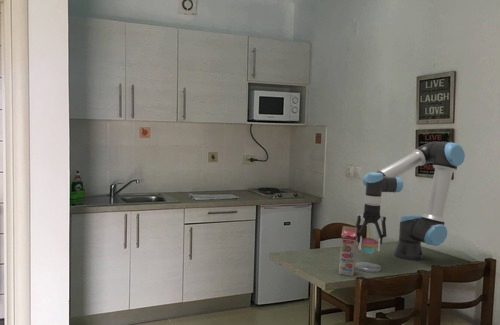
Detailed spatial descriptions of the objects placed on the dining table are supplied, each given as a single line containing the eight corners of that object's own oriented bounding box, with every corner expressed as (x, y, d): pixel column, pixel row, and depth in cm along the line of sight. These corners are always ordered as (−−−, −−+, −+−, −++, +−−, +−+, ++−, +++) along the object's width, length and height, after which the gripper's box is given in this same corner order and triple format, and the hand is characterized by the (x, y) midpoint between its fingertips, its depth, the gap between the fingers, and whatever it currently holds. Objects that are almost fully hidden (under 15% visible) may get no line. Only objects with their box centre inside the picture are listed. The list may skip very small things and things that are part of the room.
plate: (377, 265, 233) (377, 262, 233) (384, 273, 220) (384, 270, 220) (351, 263, 233) (351, 261, 233) (356, 271, 220) (357, 269, 220)
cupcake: (356, 250, 228) (358, 226, 227) (370, 249, 232) (372, 226, 231) (366, 255, 220) (369, 230, 220) (381, 254, 224) (383, 230, 223)
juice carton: (340, 269, 221) (343, 224, 220) (354, 271, 220) (357, 226, 218) (338, 273, 215) (342, 227, 214) (353, 275, 213) (356, 229, 212)
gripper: (392, 204, 228) (388, 249, 230) (349, 201, 228) (345, 246, 230) (396, 206, 220) (392, 253, 222) (352, 203, 221) (348, 250, 223)
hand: (368, 249), depth 226 cm, fingers closed on cupcake, 8 cm apart
